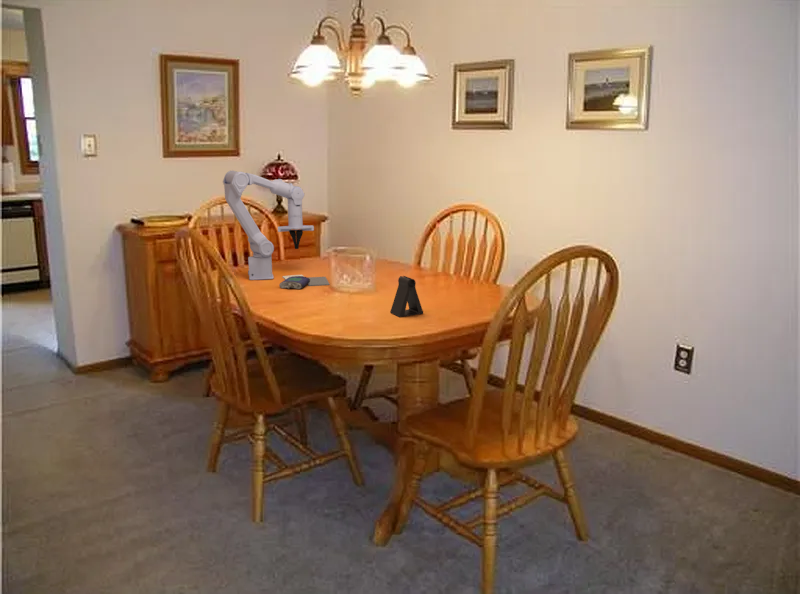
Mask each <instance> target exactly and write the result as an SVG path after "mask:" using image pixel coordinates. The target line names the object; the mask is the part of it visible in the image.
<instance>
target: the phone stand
mask: <svg viewBox="0 0 800 594" xmlns="http://www.w3.org/2000/svg"><path fill="white" fill-rule="evenodd" d="M397 281H398V286H397V288H396V293H395V295H394V299H393V302H392V305H391V309H390V314H392V315H395V316H396V317H397V318H404V317H411V316H418V315H423V314H424V310H423V308H422V307H423V306H422V304H421V301H420V298H419V295H418V293H417V289H416V280H415V279H414V278H411V277H408V276H406V275H403V276H399V277H398V280H397ZM407 306H408V308H407Z"/></svg>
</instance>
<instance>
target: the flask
mask: <svg viewBox="0 0 800 594" xmlns="http://www.w3.org/2000/svg"><path fill="white" fill-rule="evenodd" d="M309 282H310V279H309V278H307V276H304V275H303V276H293V277H289V278H287V279H286V280H285V279H284V280H283V281H282V282H280V283H279V288H280V289H295V290H302V289H303V288H304V287H305V286H307V285H308V283H309Z"/></svg>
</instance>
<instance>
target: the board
mask: <svg viewBox="0 0 800 594" xmlns="http://www.w3.org/2000/svg"><path fill="white" fill-rule="evenodd" d="M306 277H307V276H306ZM307 278H309V279H310V282H309V283H308V284H307V285H308V287H315V286H316V287H317V286H321V287H322V286H331V285H330V284H331V283H330V282H329V280H328V278H327V277H326V276H311V277H307Z"/></svg>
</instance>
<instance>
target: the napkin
mask: <svg viewBox="0 0 800 594" xmlns="http://www.w3.org/2000/svg"><path fill="white" fill-rule="evenodd" d="M293 276H304V275H303V274H292V275H291V274H290V275H283V276H282V279H284V280H286V279H287V278H289V277H293Z"/></svg>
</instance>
